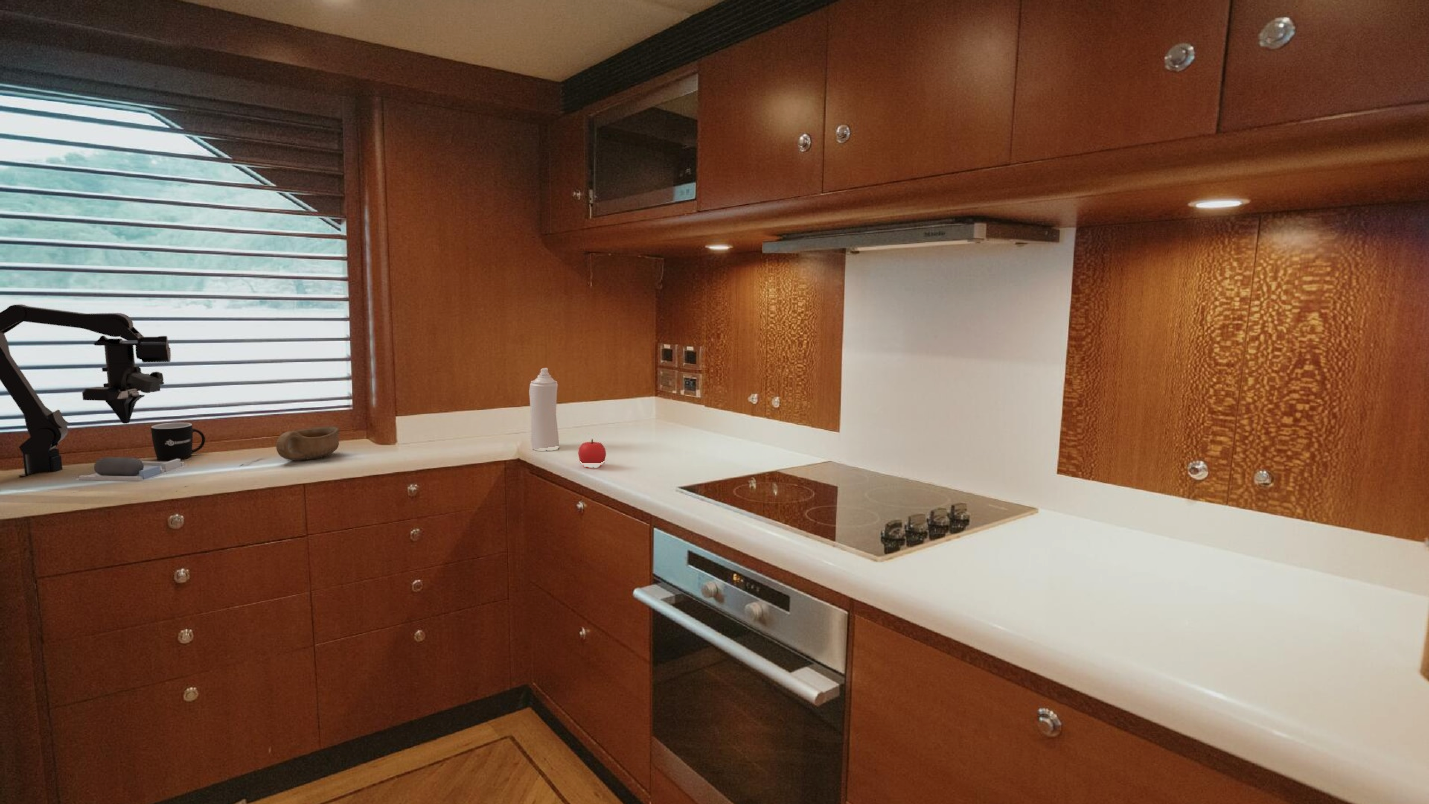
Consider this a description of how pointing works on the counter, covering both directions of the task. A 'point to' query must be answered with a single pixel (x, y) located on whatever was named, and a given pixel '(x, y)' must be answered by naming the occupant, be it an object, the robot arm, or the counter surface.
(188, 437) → the mug
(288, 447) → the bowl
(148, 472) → the board
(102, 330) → the robot arm
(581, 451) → the apple
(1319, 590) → the counter surface
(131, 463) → the grey capsule
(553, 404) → the spray can
